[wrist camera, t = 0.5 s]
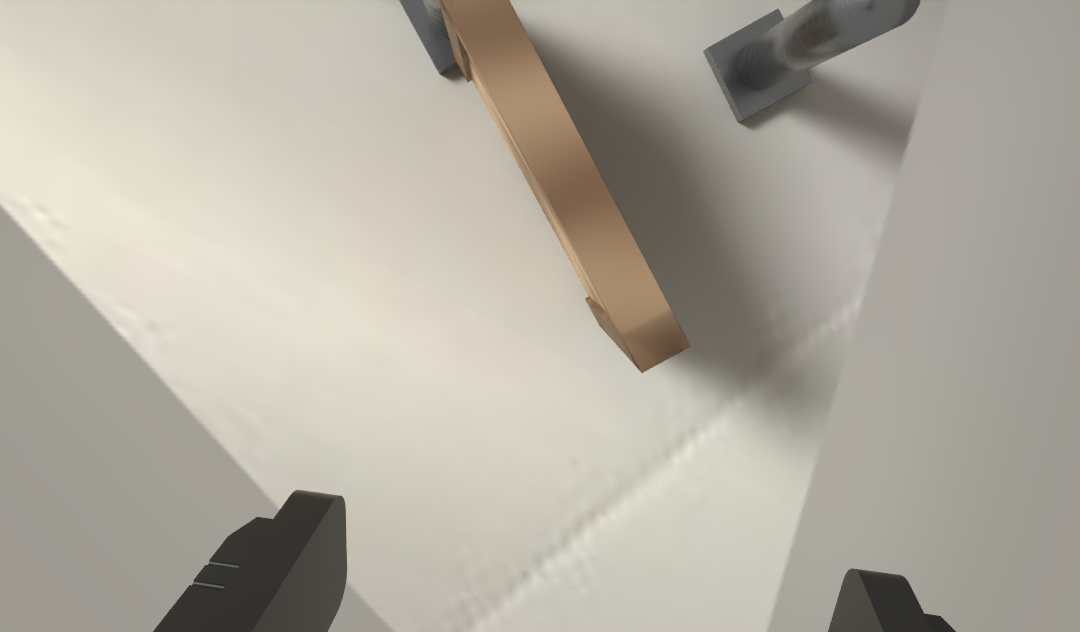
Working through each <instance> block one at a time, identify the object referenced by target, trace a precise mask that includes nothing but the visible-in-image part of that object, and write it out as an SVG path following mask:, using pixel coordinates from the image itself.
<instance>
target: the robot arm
mask: <svg viewBox="0 0 1080 632" xmlns="http://www.w3.org/2000/svg"><path fill="white" fill-rule="evenodd" d="M346 578H347V550H346V509H345V501H344V498H343V497H342V496H338V495H331V494H324V493H317V492H310V491H302V490H296V491H294V492H293V493H292V494H291V495H290V497H289V498H288V499H287V501H286V502H285V504H284V505H283V506H282V508H281V509H280V511H279V512H278V513H277V515H276V516H275V517H274V519H268V518H261V517H256V518H255V519H253V520H252V521H250V522H249V523H247V524H246V525H245V526H243V527H241V528H240V529H238V530H237V531H236V532H234V533H232V534H231V535H229V536H228V537H227V538H226V540H225V541H224V542H223V544H222V545H221V546H220V547H219V549H218V550H217V551H216V552H215V554H214V555H213V556H212V558H211V559H210V561H209V564H208V565H205V566H204V568H203V569H202V570H201V572H200V573H199V574H198V575H197V577H196V578H195V579H194V582H193V585H192V586H191V585H190V586H189V587H188V588H187V589H186V591H185V592H184V593H183V594H182V596H181V597H180V598H179V600H178V601H177V602H176V603H175V604H174V606H173V607H172V608H171V609H170V611H169V612H168V613H167V615H166V616H165V617H164V618H163V620H162V621H161V622H160V624H159V625H158V626H157V627H156V629H155V630H154V631H153V632H328V629H329V627H330V626H331V624H332V621H333V620H334V618H335V616H336V613H337V611H338V609H339V607H340V604H341V601H342V598H343V593H344V589H345V584H346ZM828 632H956V631H955V630H954V629H953V628H952V627H951V626H950V625H949V624H948V623H947V622H946V621H945V620H944V619H943V618H941V616H936V615H929V614H924V612H923V610H922V609H921V606H920V604H919V602H918V600H917V598H916V596H915V594H914V592H913V590H912V588H911V586H910V584H909V583H908V581H907V580H906V579H905V577H903V576H901V575H895V574H888V573H881V572H874V571H866V570H859V569H850V570H848V572H847V573H846V575H845V577H844V580H843V583H842V587H841V590H840V593H839V597H838V600H837V604H836V607H835V610H834V614H833V617H832V620H831V623H830V627H829V630H828Z"/></svg>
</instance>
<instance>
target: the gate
mask: <svg viewBox="0 0 1080 632" xmlns="http://www.w3.org/2000/svg"><path fill="white" fill-rule="evenodd" d="M439 4H440V7H441V11H442V14H443V18H444V21H445V25H446V28H447V32H448V35H449V38H450V42H451V45H452V49H453V52H454V56H455V59H456V61H457V63H458V65H459V67H460V69H461V71H462V72H463V74H464V76H465V78H466V80H467V82H469V81H471V80H473V82H474V84H475V86H476V88H477V89H478V91H479V93H480V95H481V97H482V99H483V101H484V102H485V104H486V106H487V108H488V110H489V112H490V113H491V115H492V117H493V119H494V121H495V123H496V125H497V126H498V128H499V130H500V132H501V134H502V136H503V138H504V139H505V141H506V143H507V145H508V147H509V149H510V150H511V152H512V154H513V156H514V158H515V160H516V162H517V163H518V165H519V167H520V169H521V171H522V173H523V175H524V176H525V178H526V180H527V182H528V184H529V186H530V187H531V189H532V191H533V193H534V195H535V197H536V199H537V200H538V202H539V204H540V206H541V208H542V210H543V212H544V213H545V215H546V217H547V219H548V221H549V223H550V224H551V226H552V228H553V230H554V232H555V234H556V236H557V237H558V239H559V241H560V243H561V245H562V247H563V249H564V250H565V252H566V254H567V256H568V258H569V260H570V261H571V263H572V265H573V267H574V269H575V271H576V273H577V274H578V276H579V278H580V280H581V282H582V284H583V286H584V287H585V289H586V291H587V293H588V295H589V297H587V298H586V301H587V303H588V305H589V307H590V309H591V311H592V312H593V314H594V316H595V318H596V320H597V322H598V323H599V325H600V327H601V328H602V329H603V330H604V331H605V332H606V333H607V334H608V336H609V337H610V338H611V339H612V340H613V341H614V342H615V343H616V344H617V346H618V347H619V348H620V349H621V350H622V351H623V352H624V353H625V355H626V356H627V357H628V358H629V359H630V360H631V361H632V362H633V364H634V365H635V366H636V367H637V368H638V369H639V370H640V371H641V372H642V373H643V372H645V371H647V370H648V369H650V368H652V367H654V366H656V365H658V364H659V363H661V362H663V361H665V360H667V359H669V358H670V357H672V356H674V355H676V354H678V353H679V352H681V351H683V350H685V349H687V348H689V347H690V345H689V343H688V341H687V339H686V337H685V335H684V333H683V331H682V329H681V327H680V326H679V324H678V322H677V320H676V318H675V316H674V314H673V312H672V310H671V308H670V306H669V305H668V303H667V301H666V299H665V297H664V295H663V293H662V291H661V289H660V287H659V285H658V284H657V282H656V280H655V278H654V276H653V274H652V272H651V270H650V268H649V266H648V264H647V263H646V261H645V259H644V257H643V255H642V253H641V251H640V249H639V247H638V245H637V243H636V241H635V240H634V238H633V236H632V234H631V232H630V230H629V228H628V226H627V224H626V222H625V220H624V219H623V217H622V215H621V213H620V211H619V209H618V207H617V205H616V203H615V201H614V199H613V198H612V196H611V194H610V192H609V190H608V188H607V186H606V184H605V182H604V180H603V178H602V177H601V175H600V173H599V171H598V169H597V167H596V165H595V163H594V161H593V159H592V157H591V155H590V154H589V152H588V150H587V148H586V146H585V144H584V142H583V140H582V138H581V136H580V134H579V133H578V131H577V129H576V127H575V125H574V123H573V121H572V119H571V117H570V115H569V113H568V112H567V110H566V108H565V106H564V104H563V102H562V100H561V98H560V96H559V94H558V92H557V91H556V89H555V87H554V85H553V83H552V81H551V79H550V77H549V75H548V73H547V71H546V69H545V68H544V66H543V64H542V62H541V60H540V58H539V56H538V54H537V52H536V50H535V48H534V47H533V45H532V43H531V41H530V39H529V37H528V35H527V33H526V31H525V29H524V27H523V26H522V24H521V22H520V20H519V18H518V16H517V14H516V12H515V10H514V8H513V6H512V5H511V3H510V1H509V0H439Z"/></svg>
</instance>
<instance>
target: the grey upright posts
mask: <svg viewBox="0 0 1080 632" xmlns="http://www.w3.org/2000/svg"><path fill="white" fill-rule="evenodd" d="M399 1H400V3H401V5H402V6H403V8H404V10H405V12H406V14H407V16H408V17H409V19H410V21H411V23H412V25H413V27H414V28H415V30H416V32H417V34H418V36H419V38H420V39H421V41H422V43H423V45H424V47H425V48H426V50H427V52H428V54H429V56H430V58H431V59H432V61H433V63H434V65H435V67H436V69H437V70H438V72H439V74H441V73H443V72H445V71H447V70H449V69H450V68H452V67H454V66H456V65H457V64H458V63H457V61H456V59H455V56H454V52H453V49H452V45H451V42H450V38H449V35H448V32H447V28H446V25H445V21H444V18H443V14H442V11H441V7H440V4H439V0H399ZM919 4H920V0H812V1H811V2H809V3H808V4H806V5H805V6H803V7H802V8H800V9H799V10H797V11H796V12H794V13H793V14H792V15H790V16H789V17H787V18H786V19H784V20H783V17H782V15H781V13H780V11H779V9H777V10H775V11H773V12H771V13H770V14H768V15H766V16H764V17H762V18H761V19H759V20H757V21H755V22H753V23H752V24H750V25H748V26H746V27H744V28H743V29H741V30H739V31H737V32H735V33H734V34H732V35H730V36H728V37H726V38H725V39H723V40H721V41H719V42H717V43H716V44H714V45H712V46H710V47H708V48H707V49H706V50H704V54H705V56H706V58H707V60H708V62H709V64H710V66H711V68H712V70H713V72H714V74H715V76H716V78H717V80H718V82H719V84H720V86H721V88H722V91H723V93H724V95H725V97H726V99H727V101H728V103H729V105H730V107H731V109H732V111H733V113H734V115H735V117H736V119H737V121H738V122H739V121H742V120H744V119H746V118H748V117H750V116H751V115H753V114H755V113H757V112H759V111H760V110H762V109H764V108H766V107H768V106H769V105H771V104H773V103H775V102H777V101H778V100H780V99H782V98H784V97H786V96H787V95H789V94H791V93H793V92H795V91H797V90H798V89H800V88H802V87H804V86H806V85H807V84H809V83H811V82H812V80H811V78H810V75H809V73H808V71H807V69H809V68H811V67H814V66H816V65H818V64H820V63H822V62H824V61H826V60H828V59H831V58H833V57H835V56H837V55H839V54H841V53H843V52H845V51H848V50H850V49H852V48H854V47H856V46H858V45H860V44H862V43H865V42H867V41H869V40H871V39H873V38H875V37H877V36H879V35H882V34H884V33H886V32H888V31H890V30H892V29H894V28H897V27H899V26H901V25H903V24H904V23H906V22H907V21H908V20H909V19H910V18H911V17H912V16H913V15H914V13H915V12H916V10H917V8H918V6H919Z"/></svg>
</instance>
